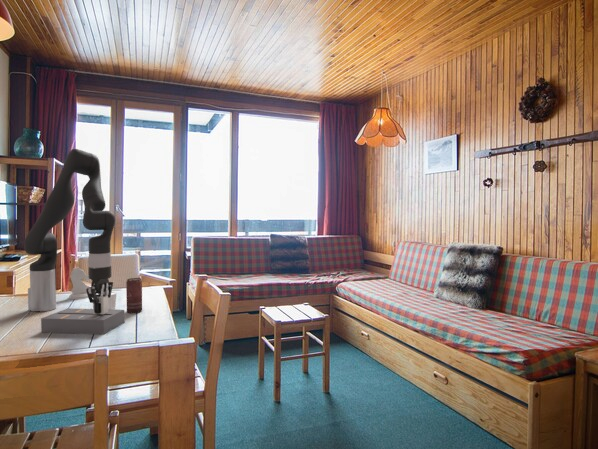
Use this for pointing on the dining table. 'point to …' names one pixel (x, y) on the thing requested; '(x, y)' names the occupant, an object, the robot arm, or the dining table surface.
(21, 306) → the dining table surface
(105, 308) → the fader knob
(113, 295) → the white cylinder
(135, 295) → the can
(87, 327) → the slider control panel
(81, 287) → the chess piece
